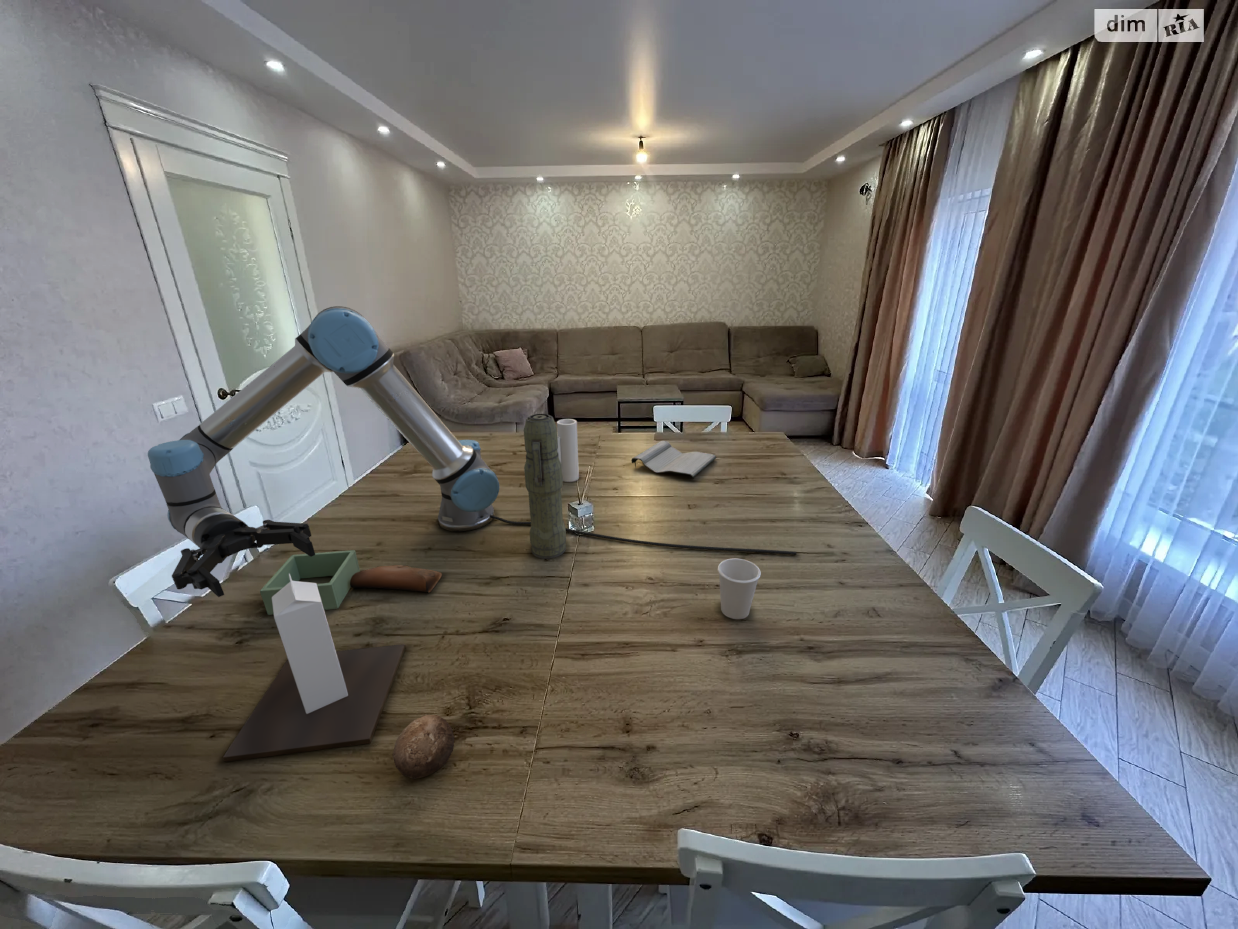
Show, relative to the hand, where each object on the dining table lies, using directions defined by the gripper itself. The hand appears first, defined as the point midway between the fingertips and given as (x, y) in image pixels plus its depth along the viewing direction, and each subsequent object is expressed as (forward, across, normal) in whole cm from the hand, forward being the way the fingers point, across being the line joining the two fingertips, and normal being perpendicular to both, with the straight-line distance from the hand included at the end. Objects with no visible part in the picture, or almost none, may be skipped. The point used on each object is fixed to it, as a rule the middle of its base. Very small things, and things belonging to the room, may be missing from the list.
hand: (268, 567), depth 80 cm
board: (+12, +1, -20) cm, 24 cm away
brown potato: (+35, -2, -21) cm, 41 cm away
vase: (-16, -90, -21) cm, 94 cm away
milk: (+12, +1, -20) cm, 23 cm away
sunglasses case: (-8, -24, -21) cm, 33 cm away
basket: (-19, -12, -20) cm, 31 cm away
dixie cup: (+60, -58, -21) cm, 86 cm away
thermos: (+11, -54, -21) cm, 59 cm away
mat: (+10, -123, -21) cm, 125 cm away
